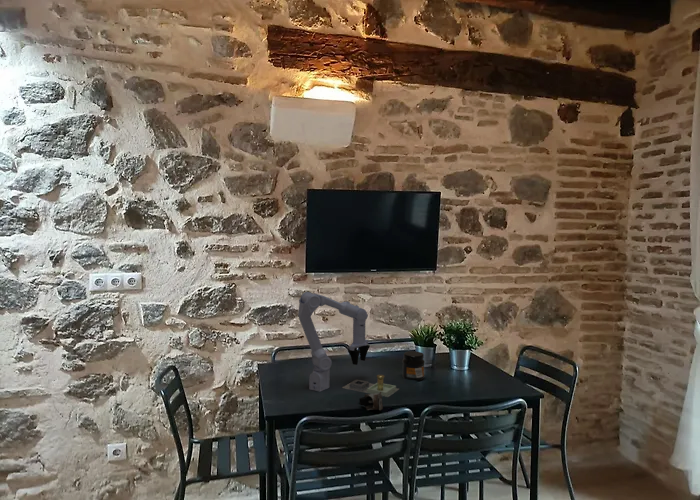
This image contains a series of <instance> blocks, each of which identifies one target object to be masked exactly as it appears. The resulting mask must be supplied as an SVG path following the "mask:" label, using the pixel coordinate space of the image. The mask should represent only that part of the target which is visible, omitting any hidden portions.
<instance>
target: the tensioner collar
mask: <svg viewBox="0 0 700 500" xmlns="http://www.w3.org/2000/svg"><path fill="white" fill-rule="evenodd" d="M354 380H355V381H354ZM354 380H353V381H351V382H350V384H349V383H348V384H349V387H354V388H359V389H363V388H365V387H367V386H368V385H369V383H370V381H367V380H362V379H354Z"/></svg>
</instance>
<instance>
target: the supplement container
mask: <svg viewBox="0 0 700 500" xmlns="http://www.w3.org/2000/svg"><path fill="white" fill-rule="evenodd" d="M424 356H425V355H424V353H423V352H421V351H417V350H416V351H414V350H413V351H412V350H411V351H405V352H404V353H403V359H402V378H403V379H405V380H410V381H417V382H419V381H422V380H424V378H425V360H424V358H425V357H424Z"/></svg>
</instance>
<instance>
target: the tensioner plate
mask: <svg viewBox="0 0 700 500" xmlns="http://www.w3.org/2000/svg"><path fill="white" fill-rule="evenodd" d="M355 380H356V379H354V380H353V381H355ZM350 383H351V382H350ZM350 383H347V384H346V385H344V386H342V387H341V388H342V389H346V390H352V391H355V392H361V393H365V394H374V393H369V392H367V389H368V388H369V387H371V386H373V385H374V384H375V383H371V382H369V385H368V386H367V387H365V388H363V389H359V388H354V387H349V384H350ZM399 390H400V388H397V387H396V389H395V390H394V391H392V392H391V393H389V394H388V395H386V396H384V395H382V397H384V398H389V397H391V396H392V395H393V394H395V393H397V392H398V391H399Z"/></svg>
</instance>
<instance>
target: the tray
mask: <svg viewBox="0 0 700 500" xmlns="http://www.w3.org/2000/svg"><path fill="white" fill-rule="evenodd" d="M373 384H374V385H373V386H371V387H369V388H368V389H367V392H369V393H368V394H370V393H374V394H376V393H380V392H381V394H382V395H384V396H383V397H385V396H386V395H388V394H389V393H391V392H392V391H394V390H395V389H396V388H397V385H394V384H393V385H392V384H389V383H383V391H379V390H377V385H378V381H377V382H376V383H373Z"/></svg>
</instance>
